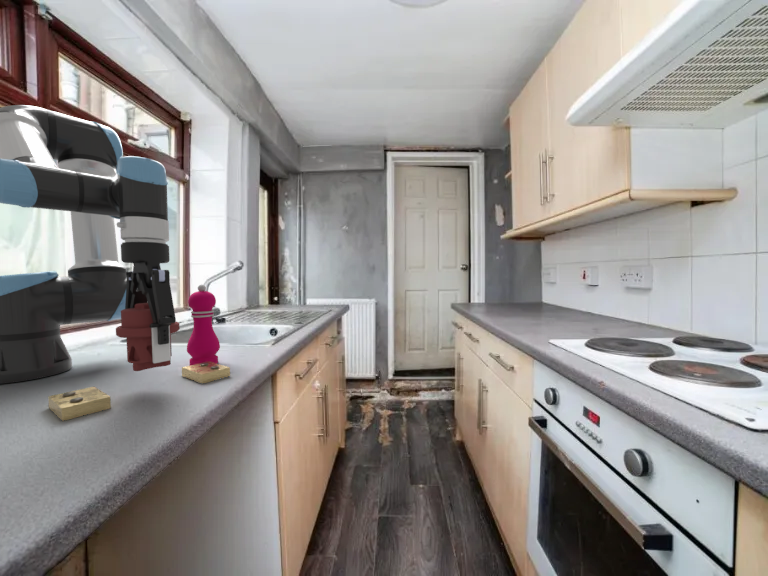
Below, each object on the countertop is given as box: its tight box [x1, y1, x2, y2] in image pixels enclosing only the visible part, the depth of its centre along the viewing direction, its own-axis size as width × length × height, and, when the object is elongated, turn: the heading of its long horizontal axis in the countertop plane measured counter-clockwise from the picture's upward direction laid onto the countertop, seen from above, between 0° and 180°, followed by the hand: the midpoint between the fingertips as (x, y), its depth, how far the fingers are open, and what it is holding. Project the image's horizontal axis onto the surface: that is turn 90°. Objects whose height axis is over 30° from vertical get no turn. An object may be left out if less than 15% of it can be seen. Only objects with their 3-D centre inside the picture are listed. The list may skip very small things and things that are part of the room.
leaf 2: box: [181, 362, 231, 385], centre depth 73 cm, size 9×6×2 cm, turn 55°
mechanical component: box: [115, 303, 180, 372], centre depth 64 cm, size 12×10×10 cm
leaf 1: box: [47, 386, 112, 422], centre depth 56 cm, size 9×6×2 cm, turn 55°
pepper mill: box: [186, 284, 221, 366], centre depth 82 cm, size 7×7×20 cm
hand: (150, 357), depth 64 cm, fingers closed on mechanical component, 10 cm apart
